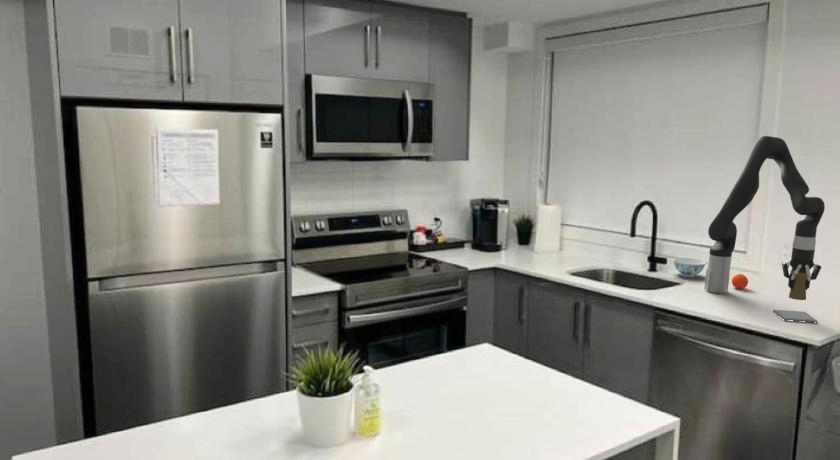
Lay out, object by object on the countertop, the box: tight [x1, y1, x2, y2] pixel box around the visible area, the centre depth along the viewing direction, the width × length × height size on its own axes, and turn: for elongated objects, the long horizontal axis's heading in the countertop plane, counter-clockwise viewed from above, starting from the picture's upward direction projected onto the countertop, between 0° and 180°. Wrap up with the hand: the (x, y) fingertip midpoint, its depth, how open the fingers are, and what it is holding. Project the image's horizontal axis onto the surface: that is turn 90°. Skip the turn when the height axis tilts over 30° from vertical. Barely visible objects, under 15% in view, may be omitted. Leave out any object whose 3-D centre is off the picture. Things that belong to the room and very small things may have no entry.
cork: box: [788, 272, 808, 301], centre depth 242 cm, size 6×6×11 cm
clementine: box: [731, 273, 749, 290], centre depth 286 cm, size 8×7×7 cm
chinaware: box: [672, 257, 707, 278], centre depth 308 cm, size 15×15×8 cm
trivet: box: [772, 309, 818, 324], centre depth 244 cm, size 12×12×1 cm
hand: (798, 288), depth 242 cm, fingers closed on cork, 4 cm apart
